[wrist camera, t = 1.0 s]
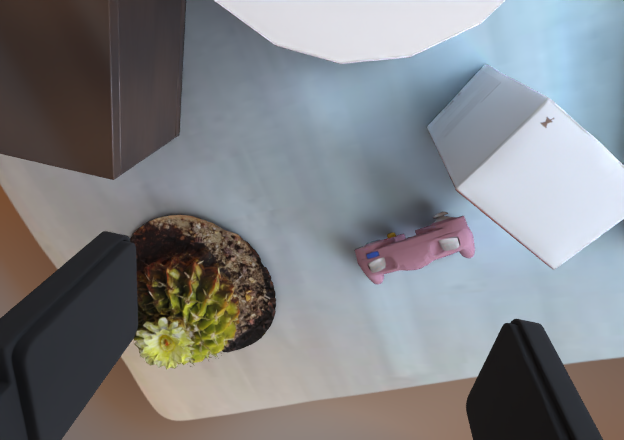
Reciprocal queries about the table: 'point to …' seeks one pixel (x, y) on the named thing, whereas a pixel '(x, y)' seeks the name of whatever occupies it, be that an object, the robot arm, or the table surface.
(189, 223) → the cactus
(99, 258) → the robot arm
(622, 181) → the small box
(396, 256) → the video game controller
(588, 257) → the table surface
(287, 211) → the table surface
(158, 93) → the cabinet
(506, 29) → the table surface
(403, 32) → the milk container
